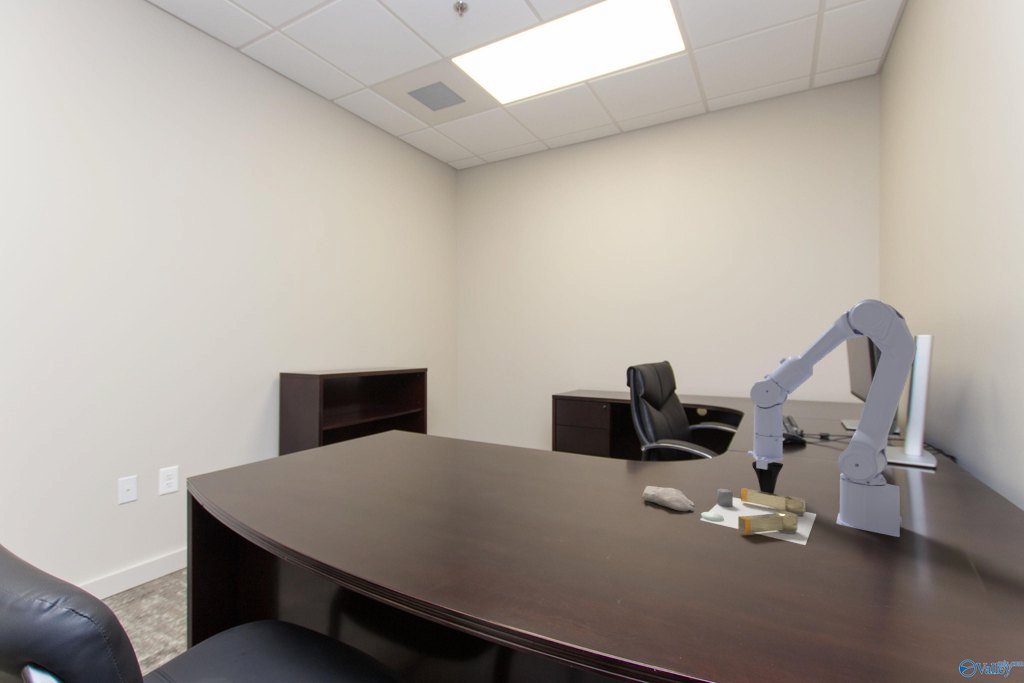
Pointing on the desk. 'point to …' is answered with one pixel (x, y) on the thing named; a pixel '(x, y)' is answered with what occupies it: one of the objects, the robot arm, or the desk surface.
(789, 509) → the far capped tube
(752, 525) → the translucent tan bar
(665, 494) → the decorative stone
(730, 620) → the desk surface
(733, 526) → the levelling base
